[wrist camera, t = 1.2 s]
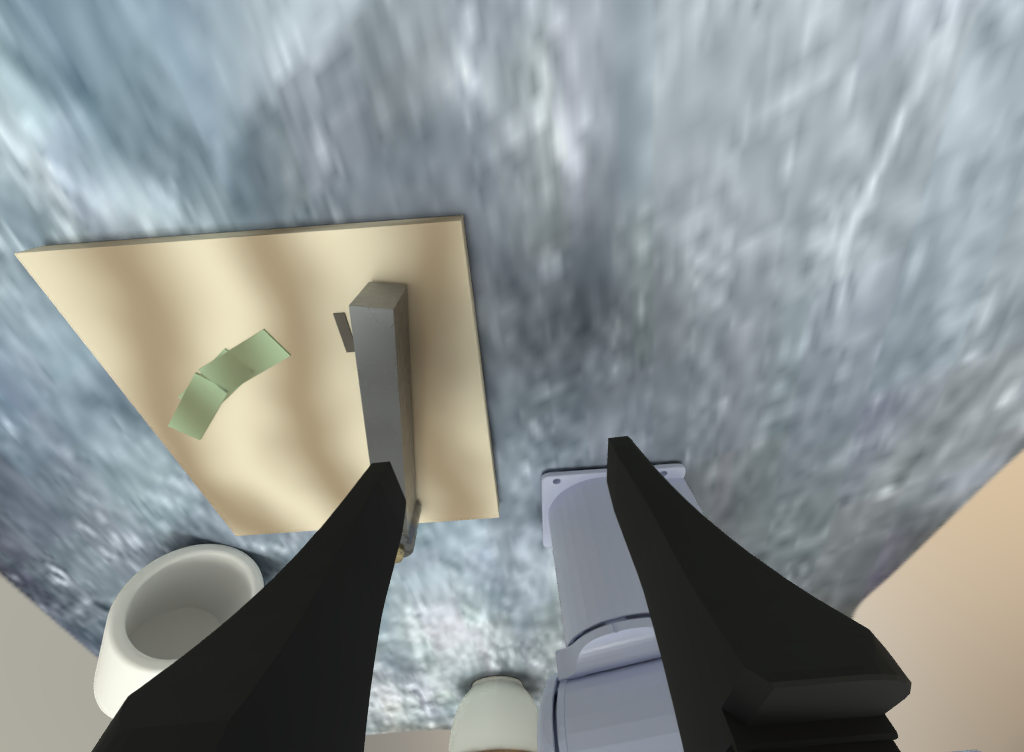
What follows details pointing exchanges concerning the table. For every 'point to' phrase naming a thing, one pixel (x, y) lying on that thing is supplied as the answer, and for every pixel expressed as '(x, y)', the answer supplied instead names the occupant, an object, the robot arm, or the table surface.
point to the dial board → (284, 359)
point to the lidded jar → (495, 718)
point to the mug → (169, 615)
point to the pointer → (387, 389)
